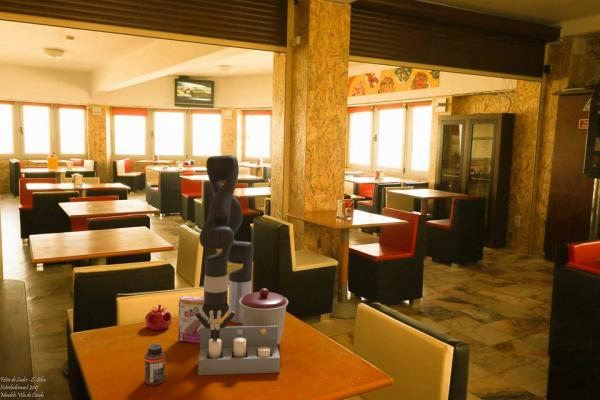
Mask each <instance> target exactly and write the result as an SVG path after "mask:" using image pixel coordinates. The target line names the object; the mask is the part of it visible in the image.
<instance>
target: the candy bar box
mask: <svg viewBox="0 0 600 400" xmlns="http://www.w3.org/2000/svg"><path fill="white" fill-rule="evenodd" d="M203 305H204V296H202V297H201V296H193V295H182V296H181V297H180V298H179V299H178V339H177V340H178V342H180V343H190V344H192V343H193V344H200V331H201V327H204V325H203V324H202V323H201V322H200V321H199V319H198V318H197V317H196V312H197V311H200V310H201V309H202V306H203ZM203 313H204V312H203ZM204 317H205V319H206V320H207V321H208V322H209V323H210V319H209V318H208V317H207V316H206V314H205V313H204Z"/></svg>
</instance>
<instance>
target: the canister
mask: <svg viewBox="0 0 600 400" xmlns="http://www.w3.org/2000/svg"><path fill="white" fill-rule="evenodd" d="M239 303H240V305H241V313H242V323H241V324H242V326H278V342H277V346H279V344H280V342H281V340H282V336H283V330H284V326H285V325H284V323H285V318H286V317H285V316H286V313H287V312H286V310H287V306H288V304H289V300H288V299H287V297H284V296H283V295H282V294H279V293H276V292H271V291H269V289H268V288H265V287H262V288H260V289H259V291H255V292H251V293H250V294H247V295H245V296H244V297H242V298H241V299H240V300H239Z"/></svg>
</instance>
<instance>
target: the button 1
mask: <svg viewBox="0 0 600 400" xmlns="http://www.w3.org/2000/svg"><path fill="white" fill-rule="evenodd" d="M220 356H221V339H217V341H213V339H210V340H209V357H210V358H219V357H220Z"/></svg>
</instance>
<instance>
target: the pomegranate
mask: <svg viewBox="0 0 600 400" xmlns="http://www.w3.org/2000/svg"><path fill="white" fill-rule="evenodd" d="M165 309H168V307H163V308H162V304H158V308H157V307H156V306H153V307H152V308H151V309H150V310H149V312H148V313H147V314H146V315H145V317H144V318H145V319H144V320H145V325H146V326H147V328H149V329H150V330H152V331H161V330H166V329H167V328H169V327H170V325H171V324H172V313H171V312H170V311H168V310H165Z"/></svg>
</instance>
